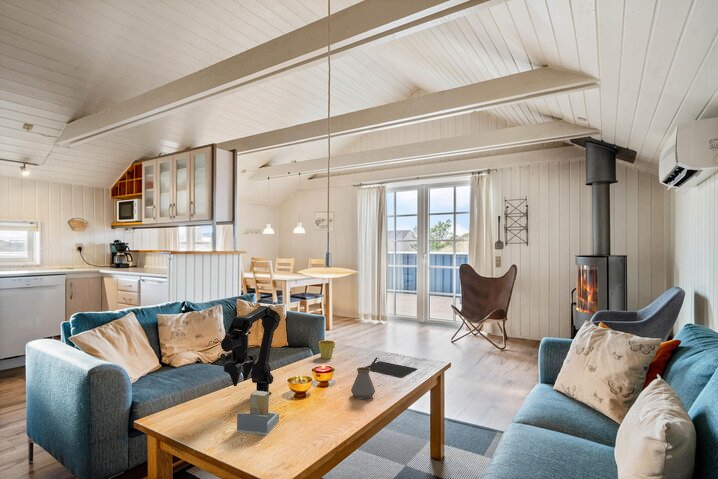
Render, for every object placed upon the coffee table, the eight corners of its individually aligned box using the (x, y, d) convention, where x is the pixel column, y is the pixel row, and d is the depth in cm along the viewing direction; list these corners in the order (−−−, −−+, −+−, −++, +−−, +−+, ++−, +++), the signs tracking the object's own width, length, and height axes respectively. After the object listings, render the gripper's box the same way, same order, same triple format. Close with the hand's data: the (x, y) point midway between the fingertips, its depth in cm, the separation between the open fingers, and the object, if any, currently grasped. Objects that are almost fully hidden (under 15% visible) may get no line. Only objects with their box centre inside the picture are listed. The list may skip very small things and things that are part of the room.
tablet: (418, 368, 233) (401, 377, 217) (418, 369, 233) (401, 379, 217) (379, 360, 249) (361, 368, 232) (379, 362, 249) (361, 370, 232)
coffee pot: (368, 402, 183) (368, 369, 183) (346, 397, 188) (346, 365, 188) (387, 388, 201) (387, 358, 202) (367, 384, 207) (367, 355, 207)
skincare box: (248, 425, 156) (249, 393, 156) (254, 420, 160) (254, 390, 160) (264, 427, 154) (264, 395, 155) (268, 422, 159) (269, 391, 159)
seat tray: (251, 418, 164) (251, 401, 164) (278, 421, 162) (279, 404, 162) (236, 432, 152) (237, 413, 152) (266, 435, 150) (266, 416, 150)
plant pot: (336, 355, 260) (336, 340, 260) (332, 360, 249) (333, 344, 249) (320, 354, 261) (320, 339, 261) (316, 359, 251) (316, 343, 251)
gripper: (234, 340, 183) (234, 374, 183) (212, 350, 165) (211, 388, 165) (257, 341, 181) (256, 376, 181) (237, 352, 163) (236, 390, 163)
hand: (240, 382), depth 172 cm, fingers open, 9 cm apart
